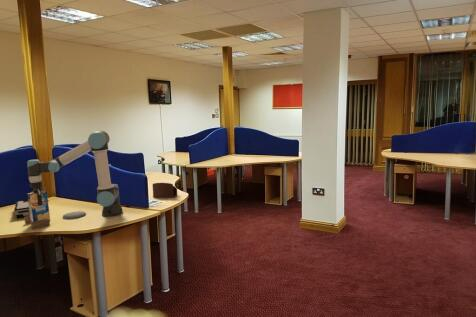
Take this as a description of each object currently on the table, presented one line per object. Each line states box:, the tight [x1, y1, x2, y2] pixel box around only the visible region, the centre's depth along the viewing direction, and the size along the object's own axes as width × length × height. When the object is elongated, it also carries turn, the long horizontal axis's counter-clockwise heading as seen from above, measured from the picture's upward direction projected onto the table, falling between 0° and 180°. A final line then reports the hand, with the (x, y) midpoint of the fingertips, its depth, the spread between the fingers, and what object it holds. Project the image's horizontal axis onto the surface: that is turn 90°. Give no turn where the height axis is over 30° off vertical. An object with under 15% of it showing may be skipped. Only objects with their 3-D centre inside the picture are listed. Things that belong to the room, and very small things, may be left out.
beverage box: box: [26, 190, 51, 222], centre depth 251 cm, size 7×11×22 cm, turn 135°
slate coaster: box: [62, 210, 87, 220], centre depth 270 cm, size 16×16×1 cm
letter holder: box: [152, 182, 178, 199], centre depth 321 cm, size 10×20×14 cm, turn 78°
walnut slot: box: [23, 215, 51, 230], centre depth 251 cm, size 18×11×5 cm, turn 45°
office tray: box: [13, 200, 30, 219], centre depth 285 cm, size 21×32×8 cm, turn 31°
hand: (39, 213), depth 252 cm, fingers closed on beverage box, 2 cm apart
